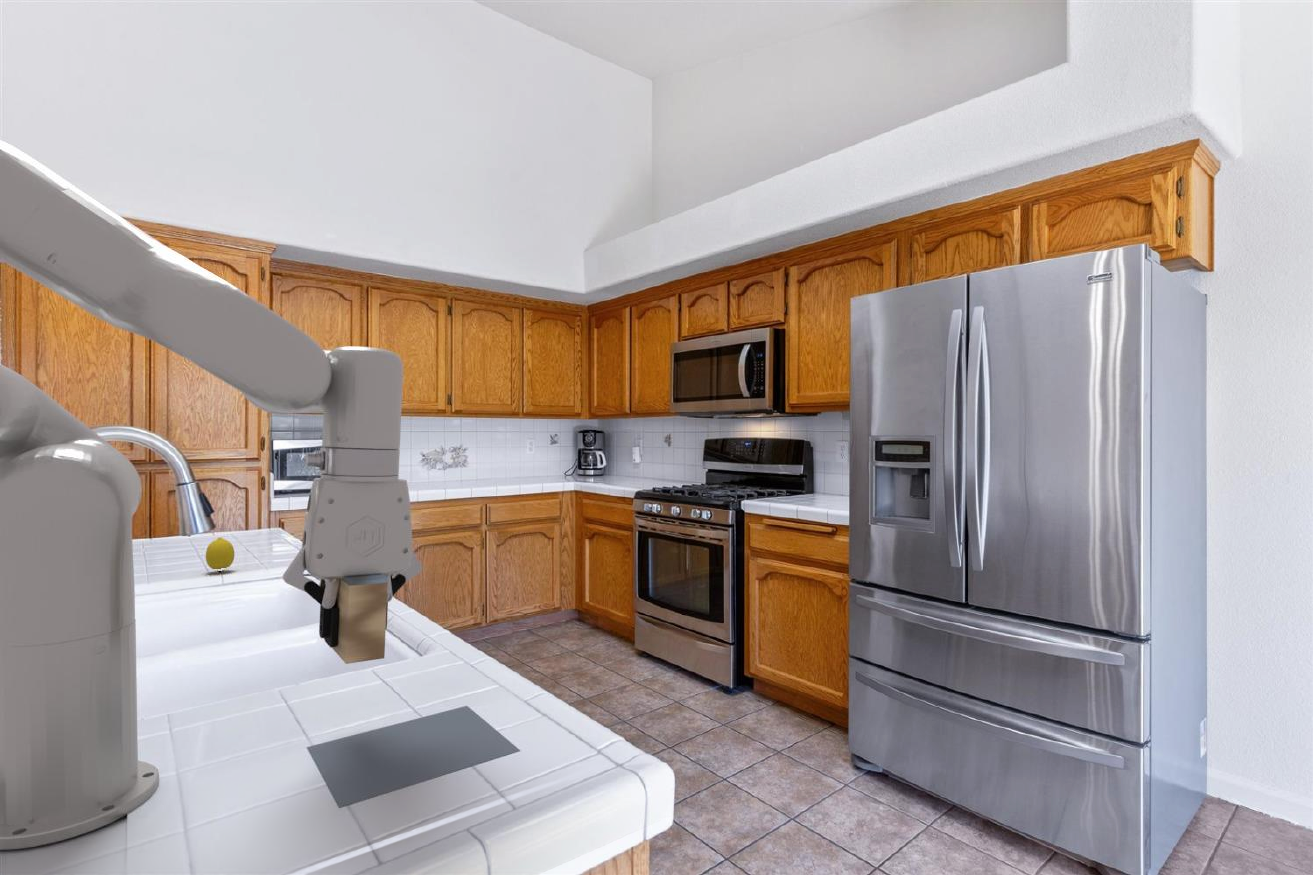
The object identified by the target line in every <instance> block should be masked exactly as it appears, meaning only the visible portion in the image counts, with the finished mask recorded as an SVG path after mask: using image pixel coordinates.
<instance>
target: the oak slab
mask: <svg viewBox="0 0 1313 875" xmlns="http://www.w3.org/2000/svg"><path fill="white" fill-rule="evenodd" d="M387 588H388V578H386V577H385V576H383V575H381V574H379V575H367V576H354V577H344V578H343V579H340V581H339V586H338V590H337V595H336V601H337V607H338V608H339V633H338V645H337V646H336V647H332V651H334V652H335V653H336V655H338V656H339V658H340V659H341V660H342V661H343V662H344V664H346V665H348V664H356V663H363V662H368V661H376V660H382V659H385V655H386V654H385V650H386V649H385V648H386V630H387V628H386V610H387ZM323 640H325V638H323Z"/></svg>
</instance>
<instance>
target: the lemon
mask: <svg viewBox="0 0 1313 875" xmlns="http://www.w3.org/2000/svg"><path fill="white" fill-rule="evenodd" d="M234 559H235V548H234V546H233V544H232V542H230V541H229V540H227V539H225V538H223V537H217V539H215V540H213V541H212V542H210V543H209V544H208V546H207V548H206V551H205V561H206V564H207V566H208V567H209V568H210V569H212V570H214V569H221V568H226V569H228V568H229V567H230V566H231V565H232V564H233V562H234ZM227 567H228V568H227Z"/></svg>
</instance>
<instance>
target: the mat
mask: <svg viewBox="0 0 1313 875" xmlns="http://www.w3.org/2000/svg"><path fill="white" fill-rule="evenodd" d="M306 749H307V750H308V753H309V754H310V756H311V758H312V760H313V762H314V764H315V765H316V768H317V769H318V771H319V773H320V775H321V777H322V779H323V781H324V782H325V785H326V786H327V787H328V790H329V792H330V795H331V796H332V797H333V800H334V801H335V802H336V805H337V807H338V808H339V809H341V808H344V807H347V806H350V805H351V806H352V805H354V804H356V803H360V802H363V801H366V800H369V799H370V800H371V799H372V798H376V797H379V796H382V795H385V794H388V793H389V794H390V793H391V792H394V791H398V790H401V789H404V788H408V787H410V786H413V785H416V784H420V783H423V782H426V781H430V780H433V779H436V778H439V777H443V776H446V775H448V774H451V773H455V772H459V771H461V770H464V769H468V768H471V767H473V766H474V767H475V766H478V765H480V764H483V763H486V762H489V761H492V760H495V759H499V758H502V757H507V756H509V755H512V754H515V753H518V752H520V751H521V750H520V748H518V747H517V746H516V745H515V744H514V743H512V742H511V741H510V740H508V738H506V737H505V736H504V735H503V734H502V733H500V732H499V731H498V730H497V729H496V728H494V727H493V726H492V725H490V723H488V722H487V721H486V720H485V719H484V718H482V717H481V716H480V715H479V714H478V713H476V712H475V711H474V710H473V709H472V708H471V707H469V706H468V705H464V706H460V707H457V708H453V709H449V710H445V711H441V712H437V713H433V714H429V715H426V716H421V717H418V718H415V719H411V720H405V721H403V722H398V723H394V724H392V725H387V726H383V727H379V728H376V729H372V730H371V729H370V730H368V731H363V732H360V733H356V734H353V735H348V736H345V737H340V738H337V739H333V740H329V741H325V742H322V743H318V744H313V745H310V746H306Z"/></svg>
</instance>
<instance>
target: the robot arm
mask: <svg viewBox="0 0 1313 875" xmlns="http://www.w3.org/2000/svg"><path fill="white" fill-rule="evenodd" d="M0 263H4V264H6V265H8V266H10V267H12V268H14V269H15V270H16V271H19V272H20V273H22V274H24V275H26V276H27V277H28V278H30V279H31V280H34V281H35V282H36V283H39V284H41V285H42V286H43V287H46V288H47V289H49V290H51V291H52V292H54V293H56V294H57V295H59V296H61V297H62V298H64V299H66V300H67V301H69V302H70V303H72V304H74V305H76V306H77V307H79V308H81V309H82V310H84V311H86V312H87V313H89V314H91V315H92V316H94V317H96V318H98V319H99V320H102V321H103V322H105V323H107V324H109V325H111V326H113V327H115V328H117V329H120V330H122V331H126V332H128V333H131V334H135V335H138V336H141V337H143V338H145V339H148V340H150V341H153V342H154V343H156V344H158V345H160V346H162V347H164V348H166V349H167V350H170V351H171V352H173V353H175V354H177V355H179V356H180V357H182V358H184V359H186V360H187V361H189V362H191V363H193V364H194V365H195V366H197V367H199V368H201V369H203V370H204V371H206V372H208V373H209V374H211V375H212V376H214V377H216V378H217V379H219V380H221V381H223V382H224V383H226V384H227V385H229V386H231V387H232V388H234V389H236V390H237V391H239V392H240V393H241V394H242V395H243V396H244V397H245V399H246V400H247V401H248V402H249V403H250V404H251V405H253V406H254V407H255V408H257V409H259V410H261V411H263V412H267V413H270V414H276V415H290V414H291V415H292V414H301V413H320V412H321V413H323V421H322V422H323V423H322V437H321V438H322V442H321V447H320V448H319V450H318V452H314V453H307V454H306V455H305V467H306V468H314V469H317V470H318V472H319V474H320V477H315V478H314V479H313V481H312V485H311V488H310V492H309V495H308V496H309V497H308V501H307V506H306V513H305V518H304V524H303V526H304V527H303V532H302V534H303V535H302V542H301V549H300V550H299V551H298V553H297V554H296V555H295V557H294V558H293V560H292V561H291V563H290V565H289V566H288V567H287V569H286V570H285V572H284V573H283V575H282V580H283V582H285V583H286V584H288V585H289V586H292V587H293V588H296V589H298V590H300V591H303V592H305V593H306V594H308V595H309V596H310V597H311V598H312V599H313V600H315V601H316V603H318V604H320V607H319V608H320V609H319V626H318V627H319V628H318V631H319V633H318V634H319V638H320V639H324V638H325V639H324V642H325V643H326V644H327V646H328V647H329V648H332V647H336V646H337V645H338V633H339V608H338V607H337V601H336V595H337V590H338V586H339V581H340V579H343V578H344V577H354V576H367V575H379V574H381V575H383V576H385V577H386V578H388V588H387V610H386V629H387V628H388V610H389V609H388V606H389V603H390V602H391V601H392V599H393V596H394V595H395V594H396V593H397V592H398V591H399V590H400V589H401V588H402V587H403V586H404V585H405V584H406V582H408V581H410V580H411V579H413V578H415V577H417V576H418V575H420V574H421V573H422V571H423V570H424V569H423V568H424V567H423V566H422V564H421V562H420V560H419V558H418V557H417V555H416V553H415V552H414V550H413V532H412V531H413V529H412V527H413V526H412V511H411V500H410V493H409V487H408V485H409V484H408V481H407V479H403V478H399V477H400V476H399V474H400V472H399V471H400V451H401V450H400V449H401V430H402V429H401V428H402V427H401V426H402V408H403V407H402V406H403V403H402V402H403V383H404V382H403V381H404V364H403V360H402V358H401V356H400V355H398V353H396V352H393V351H392V350H389V349H383V348H378V347H370V346H360V345H359V346H356V345H355V346H354V345H353V346H351V345H350V346H349V345H348V346H345V345H344V346H339V347H335V348H333V349H332V350H328V349H323V347H321V346H320V344H319V343H318V342H317V341H316V340H315V339H313V338H312V337H311V336H310V335H308V334H307V333H306V332H304V331H303V330H301V329H300V328H299V327H297V326H295V325H294V324H293V323H291V322H290V321H288V320H287V319H285V318H284V317H282V316H280V315H279V314H278V313H277V312H275V311H273V310H272V309H270V308H268V306H265V305H264V304H263V303H261V302H260V301H258V300H256V299H255V298H253V296H251V295H249V294H247V292H244V291H243V290H241V289H239V288H238V287H236V286H234V285H233V284H231V283H229V282H228V281H226V280H224V279H222V278H221V277H219V276H218V275H216V274H214V273H212V272H210V271H208V270H207V269H205V268H203V267H201V266H200V265H198V264H197V263H196V262H194V261H192V260H190V259H189V258H188V257H186V256H185V255H183V254H180V253H179V252H177V251H175V250H173V249H172V248H170V247H168V246H166V245H165V244H164V243H163V242H160V241H159V240H157V239H156V238H154V237H153V236H151V235H150V234H148V233H146V232H145V231H143V230H142V229H140V228H139V227H137V226H136V225H134V224H133V223H132V222H129V221H128V220H126V219H125V218H123V217H122V216H121V215H119V214H117V213H116V212H114V211H113V210H111V209H110V208H109V207H107V206H105V205H104V204H102V203H101V202H100V201H98V200H96V199H95V198H94V197H92V196H90V195H89V194H88V193H86V192H84V191H83V190H82V189H80V188H78V187H77V186H75V185H74V184H73V183H71V182H70V181H69V180H66V179H65V178H64V177H62V176H60V175H59V174H58V173H56V172H54V171H53V170H51V169H50V168H48V167H47V166H46V165H44V164H42V163H41V162H39V161H38V160H36V159H34V158H33V157H32V156H30V155H29V154H26V153H25V152H23V151H22V150H20V149H18V148H17V147H16V146H13V145H12V144H9V143H7V142H5V141H3V140H0ZM140 477H141V476H140V475H139V472H138V471H137V469H136V467H135V465H134V464H133V463H132V462H131V461H130V460H129V458H127V457H126V456H125V455H124V454H123V453H122V452H120V450H118V449H117V448H115V447H114V446H112V445H111V443H109V442H108V441H107V440H105V439H104V438H103V437H102V436H100V435H99V434H98V433H96V432H95V431H94V430H92V428H90V427H89V426H87V425H86V424H85V423H83V422H82V421H81V420H80V419H79V418H77V417H76V416H75V415H73V413H71V412H70V411H69V410H67V409H66V408H65V407H63V406H62V405H61V404H59V403H58V401H56V400H55V399H53V398H52V397H51V396H49V395H48V394H47V393H46V392H45V391H43V390H42V389H41V388H39V387H38V385H35V384H34V383H33V382H32V381H30V380H28V379H27V378H26V377H25V376H24V375H21V374H20V373H18V372H17V371H15V370H13V369H12V368H10V367H8V366H5V365H3V364H1V363H0V851H2V850H4V851H5V850H6V851H7V850H8V851H9V850H20V849H28V848H35V847H41V846H44V845H45V846H46V845H49V844H54V843H57V842H61V841H65V840H68V839H69V840H70V839H73V838H75V837H78V836H81V835H83V834H84V835H85V834H87V833H89V832H93V831H95V830H97V829H99V828H102V827H104V826H108V825H110V824H112V823H115V821H118V820H119V819H122V818H125V816H127V815H128V814H129V813H131V812H132V811H134V810H135V809H137V808H139V807H140V806H141V805H142V804H143V805H144V803H145V802H147V801H148V800H149V799H150V798H151V797H152V796H153V795H154V794H155V793H156V791H157V789H158V787H159V784H160V772H159V769H158V768H157V767H156V766H155V765H153V764H151V763H149V762H146V761H141V760H139V755H138V754H139V753H138V752H139V750H138V749H139V746H138V744H139V742H138V696H137V695H138V692H137V689H138V687H137V685H138V684H137V683H138V682H137V680H138V678H137V634H136V633H137V630H136V629H137V628H136V622H137V621H136V597H135V596H136V595H135V570H134V553H133V552H134V551H133V548H134V547H133V516H134V514H135V513H136V511H137V510H138V508H139V505H140V503H141V499H142V490H143V489H142V480H141V478H140ZM305 571H307V573H308V574H310V575H311V576H312V577H313V578H317V579H319V582H318V583H317V582H316V581H315V580H313V579H310V578H308V577H307V576H305V575H304V572H305Z"/></svg>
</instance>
